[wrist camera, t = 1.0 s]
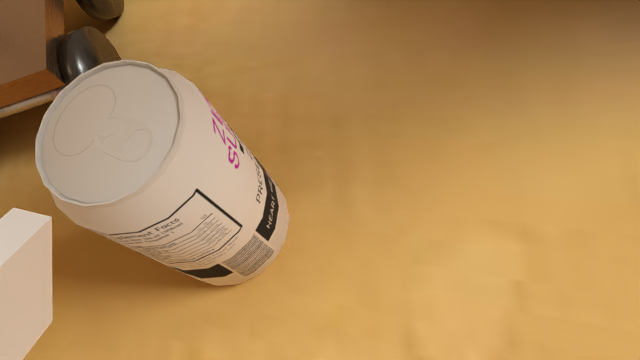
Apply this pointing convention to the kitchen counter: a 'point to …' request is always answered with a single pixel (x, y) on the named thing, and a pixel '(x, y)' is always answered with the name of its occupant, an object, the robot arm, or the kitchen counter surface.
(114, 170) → the supplement can
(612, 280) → the kitchen counter surface
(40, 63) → the trolley
